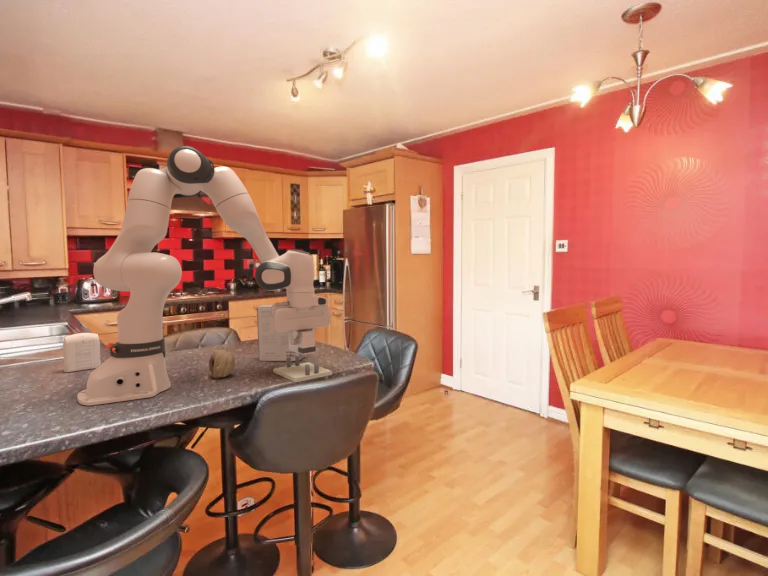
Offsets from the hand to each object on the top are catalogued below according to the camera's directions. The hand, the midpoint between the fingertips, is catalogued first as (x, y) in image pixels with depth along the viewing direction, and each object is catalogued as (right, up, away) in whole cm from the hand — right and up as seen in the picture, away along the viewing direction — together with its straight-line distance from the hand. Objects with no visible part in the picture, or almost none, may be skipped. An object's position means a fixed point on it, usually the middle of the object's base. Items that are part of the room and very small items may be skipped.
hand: (301, 343), depth 139 cm
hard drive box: (-11, -9, +20) cm, 24 cm away
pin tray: (0, -10, 0) cm, 10 cm away
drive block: (0, -3, 0) cm, 3 cm away
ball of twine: (-25, -10, -3) cm, 27 cm away
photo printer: (-75, -10, +6) cm, 76 cm away
